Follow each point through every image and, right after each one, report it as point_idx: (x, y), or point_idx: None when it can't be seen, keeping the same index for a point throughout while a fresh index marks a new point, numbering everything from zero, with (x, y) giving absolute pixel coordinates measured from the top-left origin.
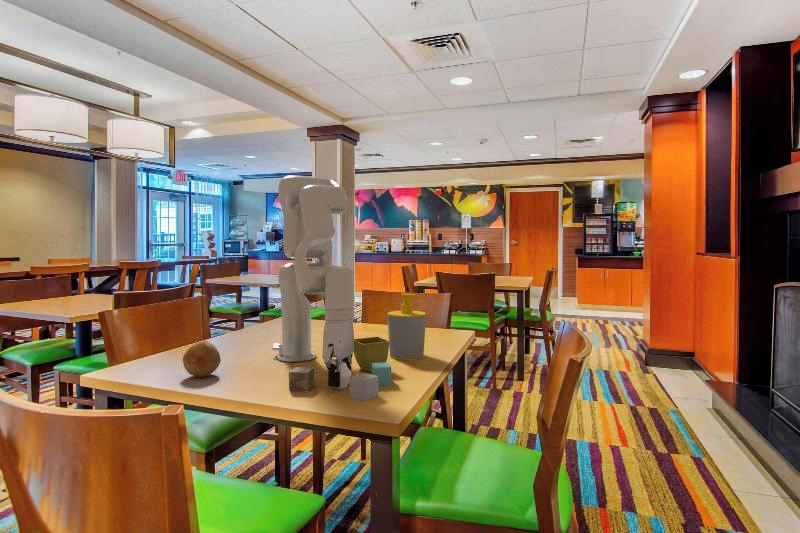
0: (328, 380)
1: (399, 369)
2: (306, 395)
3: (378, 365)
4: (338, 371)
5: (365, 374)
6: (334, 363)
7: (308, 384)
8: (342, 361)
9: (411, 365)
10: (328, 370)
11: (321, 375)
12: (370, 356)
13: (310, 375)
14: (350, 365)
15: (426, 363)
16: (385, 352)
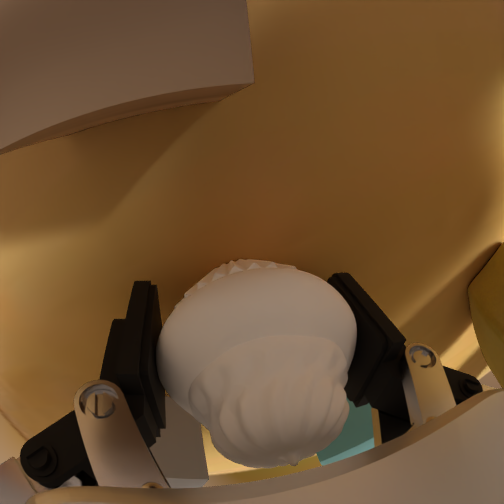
0: (130, 310)
1: (461, 349)
2: (8, 179)
3: (359, 451)
4: (192, 413)
5: (189, 486)
6: (270, 424)
7: (59, 135)
8: (318, 451)
9: (478, 350)
10: (83, 404)
11: (446, 84)
12: (497, 349)
13: (87, 119)
14: (363, 403)
15: (478, 364)
16: (496, 377)
